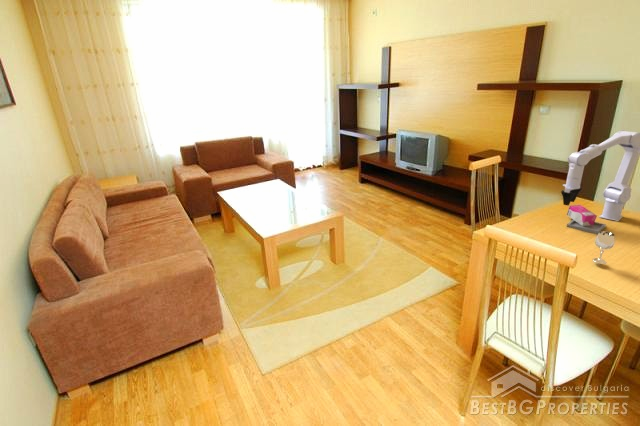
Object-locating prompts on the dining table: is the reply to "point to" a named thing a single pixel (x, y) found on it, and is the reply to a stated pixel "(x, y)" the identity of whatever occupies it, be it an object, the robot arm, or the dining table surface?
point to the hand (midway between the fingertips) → (568, 203)
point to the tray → (587, 227)
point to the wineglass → (604, 244)
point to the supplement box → (581, 215)
